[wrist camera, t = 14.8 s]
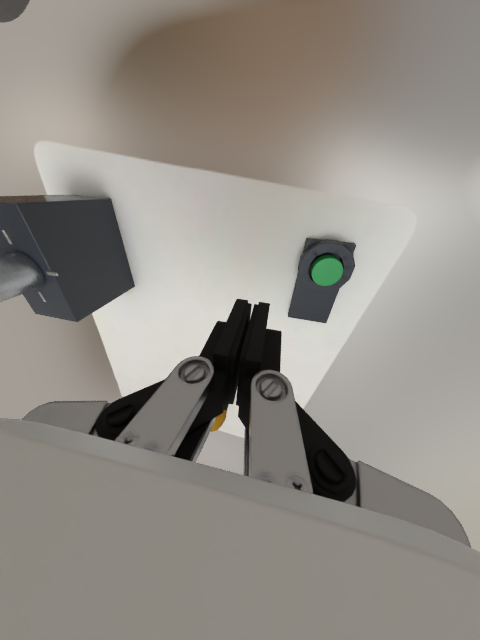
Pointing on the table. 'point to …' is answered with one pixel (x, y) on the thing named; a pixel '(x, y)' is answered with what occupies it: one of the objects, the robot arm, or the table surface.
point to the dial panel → (67, 251)
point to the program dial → (18, 275)
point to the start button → (326, 270)
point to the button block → (310, 296)
